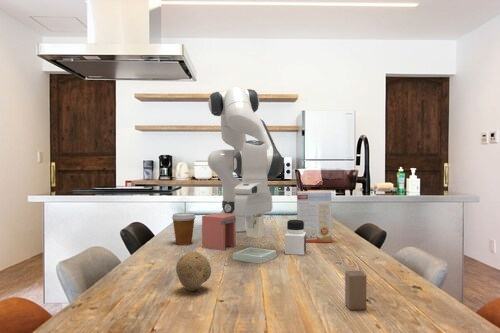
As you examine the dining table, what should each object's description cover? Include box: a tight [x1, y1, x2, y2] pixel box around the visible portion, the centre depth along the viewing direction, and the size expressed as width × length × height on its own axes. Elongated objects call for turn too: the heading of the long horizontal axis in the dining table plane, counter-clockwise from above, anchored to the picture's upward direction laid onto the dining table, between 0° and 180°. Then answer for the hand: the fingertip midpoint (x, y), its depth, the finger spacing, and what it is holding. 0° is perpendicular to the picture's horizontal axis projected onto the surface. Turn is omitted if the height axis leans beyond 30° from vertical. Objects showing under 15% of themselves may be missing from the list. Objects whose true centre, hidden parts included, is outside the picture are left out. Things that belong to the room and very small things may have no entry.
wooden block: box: [344, 270, 368, 311], centre depth 94 cm, size 4×4×8 cm
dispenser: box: [201, 213, 237, 251], centre depth 160 cm, size 9×10×12 cm
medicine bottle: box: [284, 218, 307, 256], centre depth 150 cm, size 7×7×12 cm
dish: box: [232, 246, 277, 265], centre depth 141 cm, size 11×11×2 cm
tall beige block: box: [245, 215, 265, 239], centre depth 141 cm, size 4×5×7 cm
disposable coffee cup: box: [171, 212, 196, 246], centre depth 167 cm, size 10×10×12 cm
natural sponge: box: [175, 251, 212, 292], centre depth 107 cm, size 9×9×10 cm
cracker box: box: [296, 190, 333, 243], centre depth 171 cm, size 14×6×21 cm, turn 84°
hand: (254, 227), depth 141 cm, fingers closed on tall beige block, 3 cm apart
